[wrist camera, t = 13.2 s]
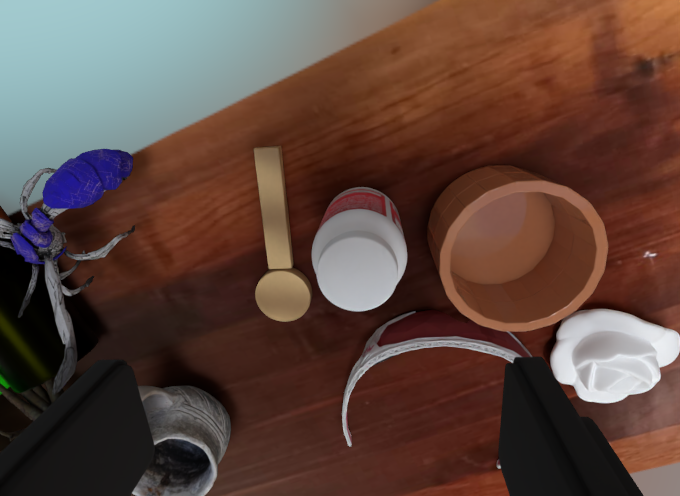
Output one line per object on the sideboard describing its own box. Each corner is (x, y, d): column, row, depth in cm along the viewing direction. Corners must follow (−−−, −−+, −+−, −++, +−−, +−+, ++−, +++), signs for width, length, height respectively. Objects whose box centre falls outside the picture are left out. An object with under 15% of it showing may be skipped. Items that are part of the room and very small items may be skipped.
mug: (172, 454, 44) (116, 551, 34) (114, 357, 40) (34, 435, 31) (254, 435, 42) (220, 532, 32) (202, 332, 38) (146, 407, 29)
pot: (427, 168, 32) (441, 184, 25) (567, 161, 31) (620, 176, 24) (426, 290, 35) (438, 332, 29) (552, 287, 34) (595, 331, 28)
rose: (695, 305, 29) (717, 410, 32) (655, 280, 33) (677, 374, 36) (553, 349, 31) (584, 444, 34) (532, 320, 35) (561, 406, 38)
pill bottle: (309, 225, 34) (281, 277, 24) (358, 169, 32) (351, 200, 22) (365, 272, 35) (361, 342, 25) (415, 220, 33) (434, 273, 23)
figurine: (77, 356, 47) (171, 484, 42) (29, 393, 45) (122, 532, 40) (-17, 324, 34) (104, 505, 29) (-90, 375, 32) (26, 578, 27)
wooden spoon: (239, 147, 33) (234, 149, 31) (299, 144, 32) (296, 146, 31) (262, 315, 37) (258, 322, 36) (314, 314, 37) (312, 321, 36)
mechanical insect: (2, 170, 37) (-247, 238, 24) (53, 47, 30) (-253, 50, 17) (160, 313, 40) (12, 444, 27) (239, 229, 33) (93, 349, 20)
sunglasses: (561, 315, 35) (586, 358, 30) (503, 441, 43) (516, 488, 39) (358, 288, 35) (354, 326, 31) (340, 417, 44) (335, 461, 40)
